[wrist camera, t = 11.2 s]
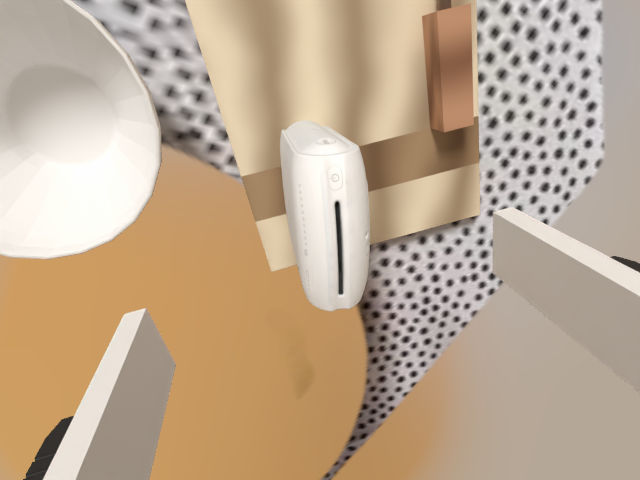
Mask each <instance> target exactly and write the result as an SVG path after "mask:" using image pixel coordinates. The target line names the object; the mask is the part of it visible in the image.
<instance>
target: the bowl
mask: <svg viewBox="0 0 640 480" xmlns="http://www.w3.org/2000/svg"><path fill="white" fill-rule="evenodd" d="M161 158H162V155H161V126H160V123H159V120H158V116H157V113H156V110H155V106H154V103H153V99H152V96H151V93H150V91H149V89H148V87H147V85H146V84H145V82H144V80H143V78H142V77H141V75H140V73H139V71H138V70H137V68H136V66H135V64H134V63H133V61H132V59H131V57H130V56H129V54H128V53H127V52H126V51H125V50H124V49H123V48H122V47H121V45H120V44H119V43H118V42H117V41H116V40H115V39H114V38H113V36H112V35H111V34H110V33H109V32H108V31H107V30H106V29H105V28H104V26H103V25H102V24H101V23H100V22H99V21H98V20H97V19H95V18H94V17H92V16H91V15H90V14H88V13H87V12H86V11H84V10H83V9H81V8H80V7H79V6H77V5H76V4H75V3H73V2H72V1H71V0H0V255H4V256H8V257H14V258H35V259H53V258H59V257H64V256H70V255H76V254H82V253H85V252H87V251H89V250H91V249H93V248H96V247H98V246H100V245H103V244H105V243H107V242H110V241H112V240H113V239H114V238H116V237H117V236H118V235H119V234H120V233H122V232H123V231H124V230H125V229H127V228H128V227H129V226H130V225H131V224H132V223H134V222H135V221H136V220H137V218H138V216H139V215H140V213H141V212H142V210H143V209H144V207H145V206H146V204H147V202H148V201H149V199H150V198H151V196H152V194H153V191H154V187H155V184H156V180H157V176H158V173H159V169H160V165H161V161H162V159H161Z"/></svg>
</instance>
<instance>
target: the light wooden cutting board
mask: <svg viewBox="0 0 640 480" xmlns="http://www.w3.org/2000/svg"><path fill="white" fill-rule="evenodd" d="M185 2H186V5H187V8H188V11H189V14H190V17H191V21H192V24H193V27H194V30H195V33H196V36H197V39H198V42H199V46H200V49H201V52H202V55H203V58H204V61H205V64H206V68H207V71H208V74H209V77H210V80H211V83H212V86H213V90H214V93H215V96H216V99H217V102H218V105H219V108H220V112H221V115H222V118H223V121H224V124H225V127H226V130H227V133H228V137H229V140H230V143H231V146H232V149H233V152H234V155H235V159H236V162H237V165H238V168H239V171H240V174H241V177H242V181H243V184H244V187H245V190H246V193H247V196H248V199H249V202H250V205H251V209H252V212H253V215H254V218H255V221H256V224H257V228H258V231H259V234H260V237H261V240H262V243H263V246H264V250H265V253H266V256H267V259H268V262H269V265H270V268H271V271H272V272H273V271H276V270H280V269H283V268H287V267H291V266H294V265H297V262H296V258H295V254H294V250H293V246H292V241H291V237H290V232H289V227H288V220H287V214H286V207H285V199H284V190H283V180H282V169H281V156H280V138H281V131H282V130H286V129H287V128H288V127H289V126H290V125H292V124H293V123H295V122H298V121H304V120H308V121H313V122H315V123H317V124H319V125H320V126H328V127H330V128H331V129H333V130H334V131H336V132H337V133H339V134H340V135H342V136H343V137H345V138H347V139H348V140H350V141H351V142H353V143H354V144H356V145H358V147H359V149H360V151H361V155H362V158H363V162H364V167H365V173H366V179H367V184H368V196H369V214H370V215H369V216H370V245H371V244H375V243H378V242H382V241H385V240H389V239H393V238H396V237H400V236H404V235H407V234H411V233H415V232H418V231H422V230H425V229H429V228H433V227H436V226H440V225H444V224H447V223H451V222H455V221H458V220H462V219H466V218H469V217H473V216H476V215H480V182H479V124H478V67H477V9H476V0H451V7H452V8H453V7H457V6H462V5H466V4H470V3H471V24H472V68H473V111H474V125H471V126H467V127H463V128H459V129H456V130H452V131H448V132H441V131H438V130H435V129H432V128H430V118H429V105H428V92H427V78H426V65H425V52H424V38H423V25H422V16H424V15H427V14H430V13H433V12H436V11H439V0H185Z"/></svg>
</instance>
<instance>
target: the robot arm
mask: <svg viewBox="0 0 640 480" xmlns="http://www.w3.org/2000/svg"><path fill="white" fill-rule="evenodd" d="M493 274H495V275H496V276H497V277H498V278H499V279H501V280H502V281H503V282H504V283H506V284H507V285H508V286H509V287H510V288H512V289H513V290H514V291H515V292H517V293H518V294H519V295H520V296H521V297H523V298H524V299H525V300H526V301H528V302H529V303H530V304H531V305H532V306H534V307H535V308H536V309H537V310H538V311H540V312H541V313H542V314H543V315H545V316H546V317H547V318H548V319H549V320H551V321H552V322H553V323H554V324H556V325H557V326H558V327H559V328H561V329H562V330H563V331H564V332H566V333H567V334H568V335H569V336H571V337H572V338H573V339H574V340H575V341H576V342H577V343H579V344H580V345H581V346H582V347H584V348H585V349H586V350H587V351H589V352H590V353H591V354H592V355H593V356H595V357H596V358H597V359H598V360H599V361H601V362H602V363H603V364H604V365H606V366H607V367H608V368H609V369H611V370H612V371H613V372H614V373H615V374H617V375H618V376H619V377H620V378H622V379H623V380H624V381H625V382H626V383H628V384H629V385H630V386H631V387H632V388H634V389H635V390H636V391H637V392H638V393H640V264H639V263H637V262H635V261H631V260H628V259H624V258H620V257H616V256H612V257H608V256H606V255H604V254H602V253H600V252H598V251H597V250H595V249H593V248H591V247H589V246H587V245H585V244H583V243H581V242H579V241H577V240H575V239H573V238H571V237H569V236H567V235H565V234H563V233H561V232H560V231H558V230H556V229H554V228H552V227H550V226H548V225H546V224H544V223H542V222H540V221H538V220H536V219H534V218H532V217H530V216H528V215H527V214H525V213H523V212H521V211H519V210H517V209H515V208H513V207H510V208H507V209H503V210H500V211H496V212H493ZM175 366H176V364H175V362H174V360H173V358H172V356H171V355H170V352H169V350H168V349H167V347H166V345H165V343H164V341H163V339H162V337H161V335H160V333H159V331H158V330H157V328H156V326H155V324H154V322H153V320H152V318H151V316H150V314H149V312H148V310H147V309H146V308H145V309H141V310H138V311H134V312H130V313H127V314H124V316H123V318H122V320H121V322H120V324H119V326H118V328H117V330H116V332H115V334H114V336H113V339H112V340H111V342H110V344H109V346H108V349H107V350H106V352H105V354H104V357H103V359H102V361H101V363H100V365H99V367H98V369H97V371H96V373H95V375H94V377H93V379H92V381H91V383H90V385H89V387H88V389H87V391H86V393H85V395H84V397H83V399H82V401H81V403H80V405H79V407H78V409H77V411H76V414H75V415H74V416H72V417H69V418H65V419H62V420H61V421H60V422H59V424H58V425H57V426H56V427H55V428H54V429H53V431H51V433H50V434H49V435H48V436H47V437H46V438H45V440H44V442H43V444H42V446H41V448H40V449H39V451H38V453H37V455H36V457H35V462H32V464H31V466H30V468H29V470H28V472H27V473H26V479H23V480H149V478H150V474H151V470H152V465H153V461H154V456H155V453H156V448H157V444H158V440H159V435H160V431H161V427H162V422H163V418H164V414H165V410H166V405H167V401H168V397H169V392H170V388H171V384H172V379H173V375H174V371H175Z"/></svg>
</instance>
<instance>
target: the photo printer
mask: <svg viewBox="0 0 640 480" xmlns="http://www.w3.org/2000/svg"><path fill="white" fill-rule="evenodd" d="M280 156H281V169H282V180H283V190H284V199H285V207H286V214H287V220H288V227H289V232H290V237H291V241H292V246H293V250H294V254H295V258H296V262H297V266H298V269H299V274H300V277H301V282H302V286H303V289H304V292H305V294H306V297H307V298H308V300H309V302H311V304H313V305H314V306H315V307H318V308H319V309H322V310H326V311H334V310H337V309H350V308H352V307H354V306H355V305H356V304H357V303H359V301H360V300H361V298H362V295H363V292H364V289H365V286H366V282H367V278H368V269H369V252H370V216H369V215H370V214H369V196H368V184H367V179H366V173H365V167H364V162H363V158H362V155H361V151H360V149H359V147H358V145H356V144H354V143H353V142H351V141H350V140H348V139H347V138H345V137H343V136H342V135H340V134H339V133H337V132H336V131H334V130H333V129H331V128H330V127H328V126H320V125H319V124H317V123H315V122H313V121H308V120H304V121H298V122H295V123H293V124H292V125H290V126H289V127H288V128H287V129H286V130H282V131H281V138H280Z"/></svg>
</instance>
